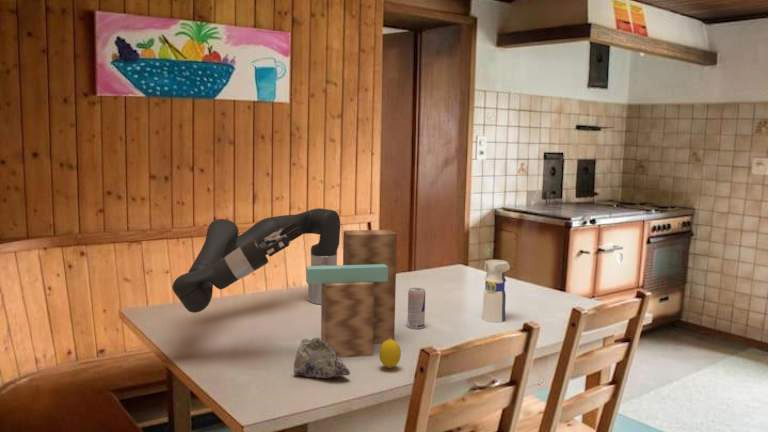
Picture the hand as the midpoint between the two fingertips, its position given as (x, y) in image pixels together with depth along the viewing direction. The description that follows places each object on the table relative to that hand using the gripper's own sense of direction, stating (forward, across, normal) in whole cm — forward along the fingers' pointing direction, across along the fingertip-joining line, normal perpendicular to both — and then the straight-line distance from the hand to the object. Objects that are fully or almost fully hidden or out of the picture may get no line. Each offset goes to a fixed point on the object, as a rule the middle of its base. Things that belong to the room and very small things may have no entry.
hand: (298, 227), depth 177 cm
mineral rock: (-15, -20, +32) cm, 40 cm away
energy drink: (+15, +16, +50) cm, 55 cm away
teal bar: (+4, -2, +19) cm, 20 cm away
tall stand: (0, +7, +41) cm, 41 cm away
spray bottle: (+39, +20, +65) cm, 78 cm away
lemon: (+1, -17, +41) cm, 44 cm away
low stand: (-7, -2, +36) cm, 37 cm away
